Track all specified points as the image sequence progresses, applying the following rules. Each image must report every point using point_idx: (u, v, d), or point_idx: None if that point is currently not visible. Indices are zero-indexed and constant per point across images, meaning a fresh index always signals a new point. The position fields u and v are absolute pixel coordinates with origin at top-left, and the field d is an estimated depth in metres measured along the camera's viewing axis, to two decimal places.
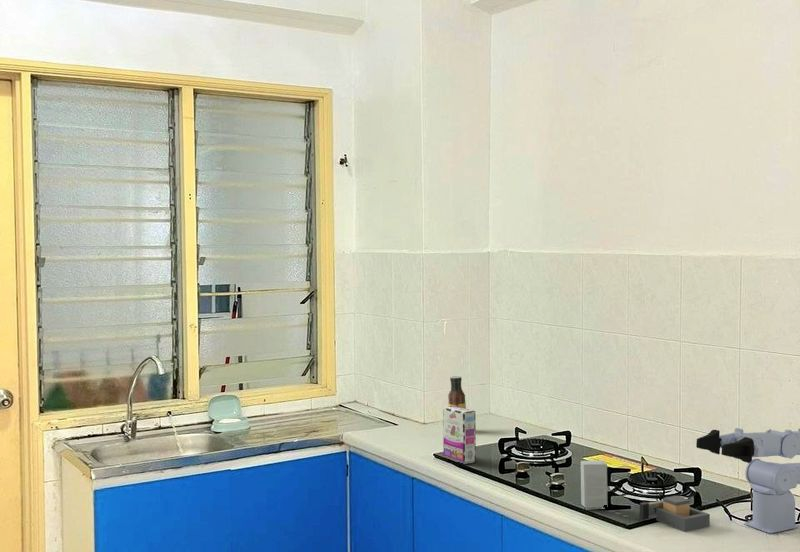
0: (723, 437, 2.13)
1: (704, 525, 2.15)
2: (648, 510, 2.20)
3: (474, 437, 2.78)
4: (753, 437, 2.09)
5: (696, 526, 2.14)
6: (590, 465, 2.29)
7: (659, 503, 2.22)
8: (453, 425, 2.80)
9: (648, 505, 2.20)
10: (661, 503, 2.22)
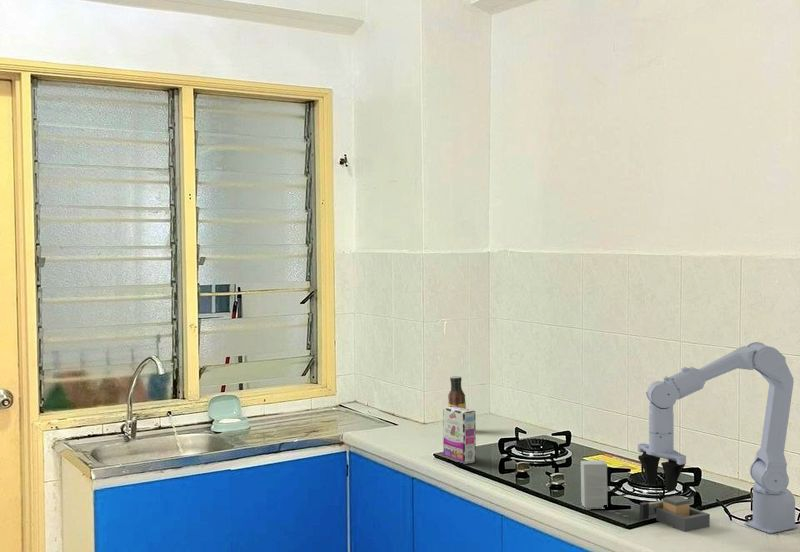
0: None
1: (704, 525, 2.15)
2: (648, 510, 2.20)
3: (474, 437, 2.78)
4: (659, 442, 2.14)
5: (696, 526, 2.14)
6: (590, 465, 2.29)
7: (659, 503, 2.22)
8: (453, 425, 2.80)
9: (648, 505, 2.20)
10: (661, 503, 2.22)
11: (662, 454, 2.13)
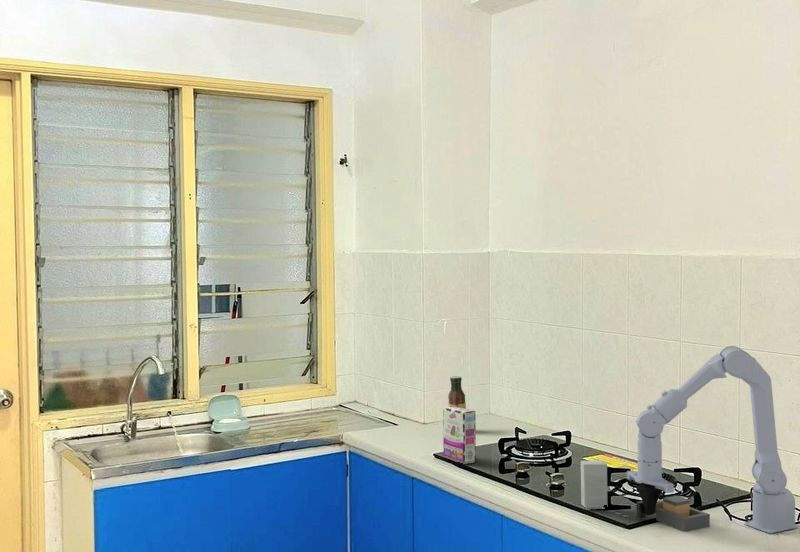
0: None
1: (704, 525, 2.15)
2: None
3: (474, 437, 2.78)
4: (647, 470, 2.18)
5: (696, 526, 2.14)
6: (590, 465, 2.29)
7: (657, 502, 2.23)
8: (453, 425, 2.80)
9: None
10: (659, 502, 2.23)
11: (650, 482, 2.17)
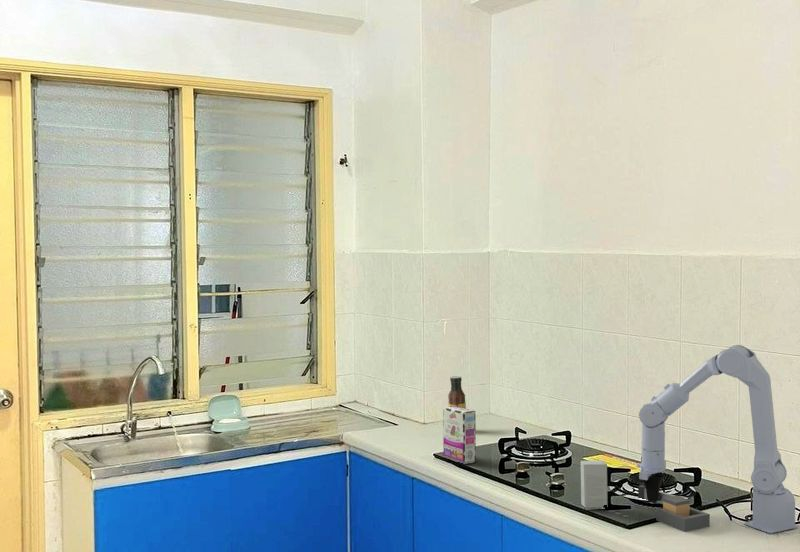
0: None
1: (704, 525, 2.15)
2: (643, 493, 2.34)
3: (474, 437, 2.78)
4: (642, 456, 2.30)
5: (696, 526, 2.14)
6: (590, 465, 2.29)
7: None
8: (453, 425, 2.80)
9: (643, 489, 2.34)
10: None
11: None
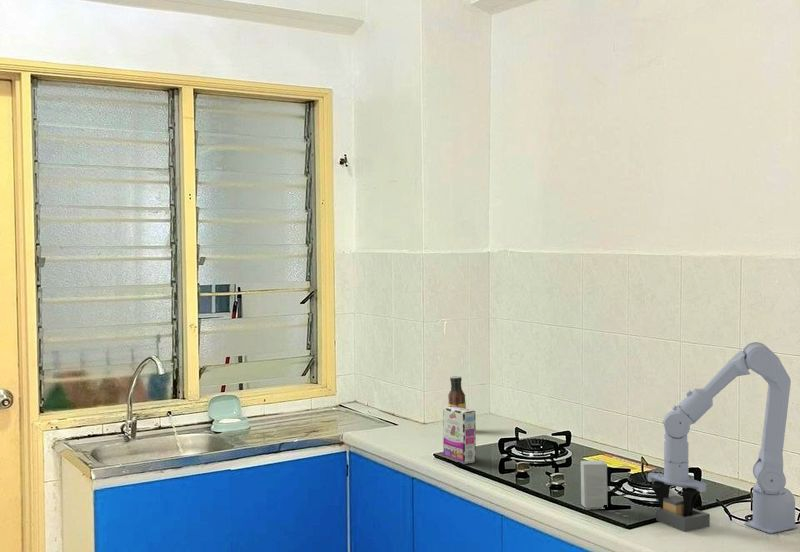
0: None
1: (704, 525, 2.15)
2: None
3: (474, 437, 2.78)
4: None
5: (696, 526, 2.14)
6: (590, 465, 2.29)
7: None
8: (453, 425, 2.80)
9: None
10: (669, 491, 2.32)
11: None
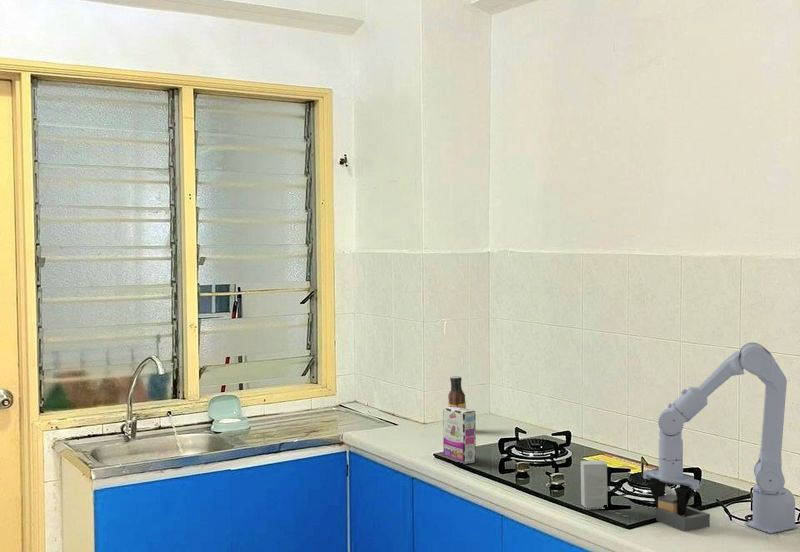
0: None
1: (704, 525, 2.15)
2: None
3: (474, 437, 2.78)
4: None
5: (696, 526, 2.14)
6: (590, 465, 2.29)
7: (668, 490, 2.33)
8: (453, 425, 2.80)
9: None
10: (669, 491, 2.32)
11: None
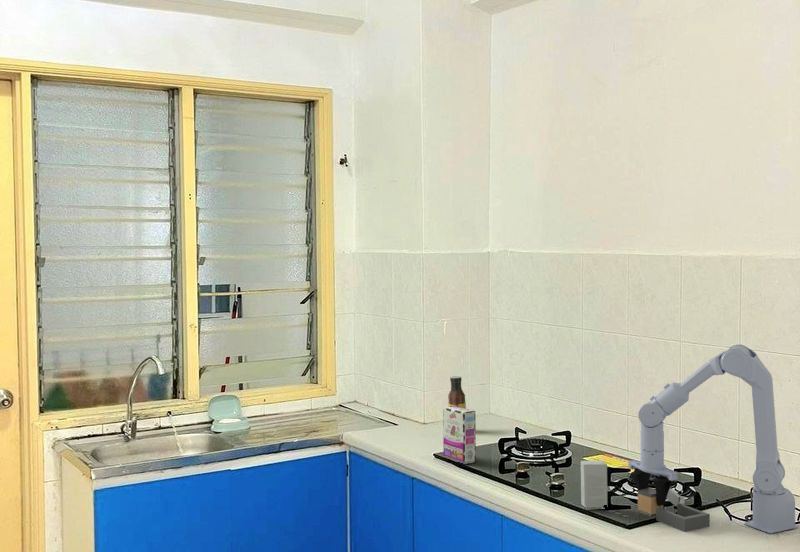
0: None
1: (704, 525, 2.15)
2: None
3: (474, 437, 2.78)
4: None
5: (696, 526, 2.14)
6: (590, 465, 2.29)
7: None
8: (453, 425, 2.80)
9: None
10: (669, 491, 2.32)
11: None
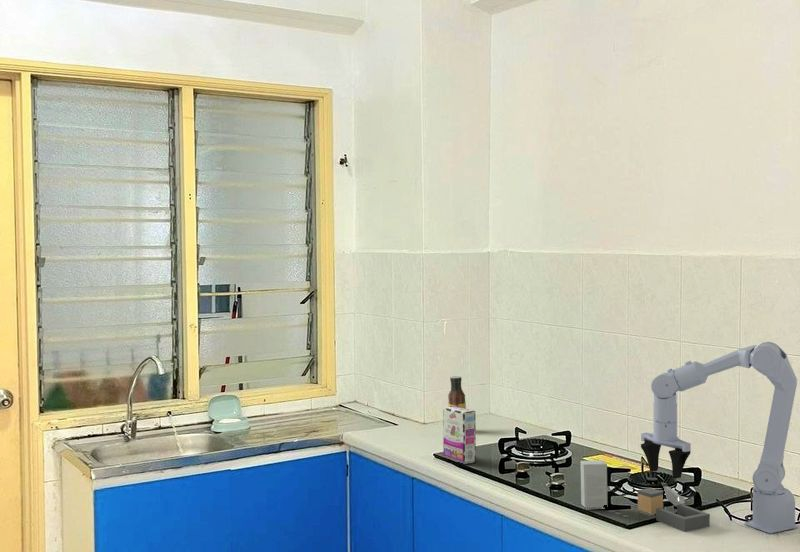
0: None
1: (704, 525, 2.15)
2: None
3: (474, 437, 2.78)
4: None
5: (696, 526, 2.14)
6: (590, 465, 2.29)
7: (668, 490, 2.33)
8: (453, 425, 2.80)
9: None
10: (669, 491, 2.32)
11: None
